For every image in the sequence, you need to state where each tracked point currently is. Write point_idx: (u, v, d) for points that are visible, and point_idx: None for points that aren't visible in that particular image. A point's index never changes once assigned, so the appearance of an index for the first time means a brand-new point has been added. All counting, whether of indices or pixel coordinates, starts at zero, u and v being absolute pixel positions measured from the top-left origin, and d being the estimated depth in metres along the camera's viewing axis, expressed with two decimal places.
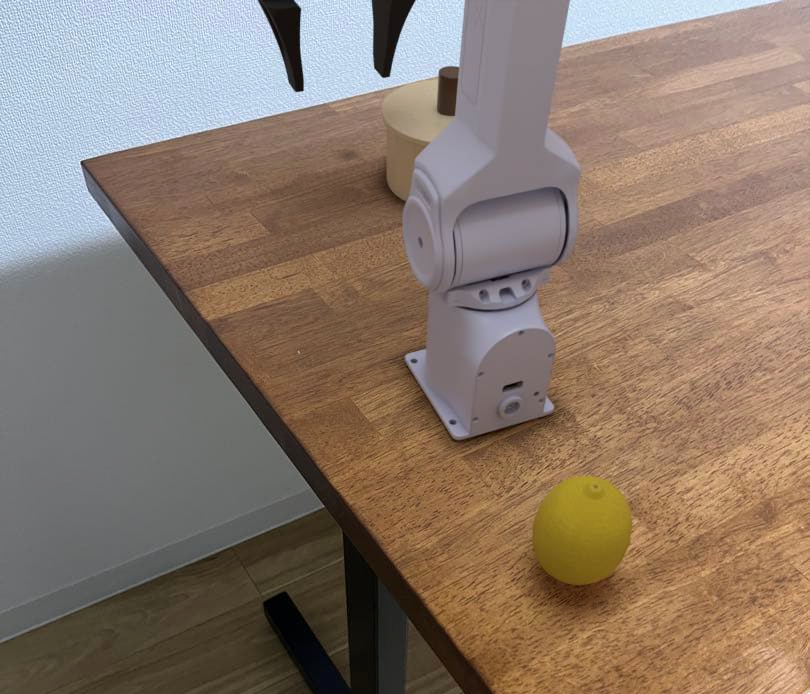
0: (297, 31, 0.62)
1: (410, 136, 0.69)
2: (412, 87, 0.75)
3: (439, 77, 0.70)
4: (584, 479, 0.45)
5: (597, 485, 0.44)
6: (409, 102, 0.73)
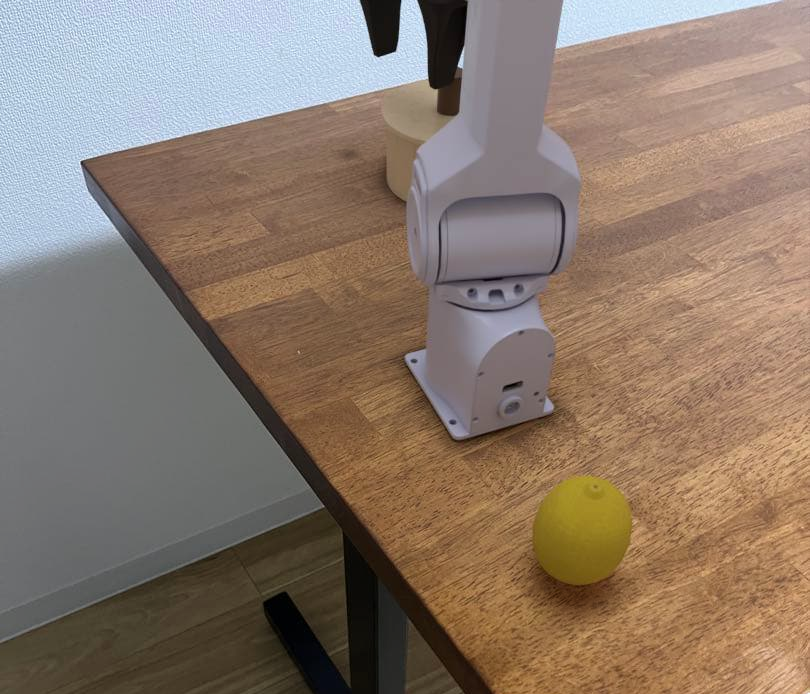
0: None
1: (410, 136, 0.69)
2: (412, 87, 0.75)
3: None
4: (584, 479, 0.45)
5: (597, 485, 0.44)
6: (409, 102, 0.73)
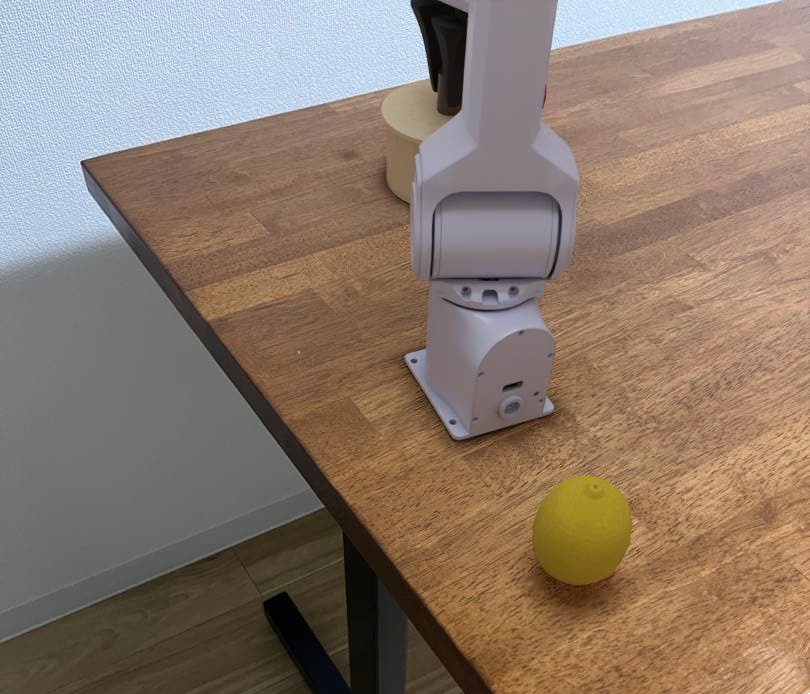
0: (426, 33, 0.68)
1: (410, 136, 0.70)
2: (412, 86, 0.75)
3: (439, 77, 0.70)
4: (584, 479, 0.45)
5: (597, 485, 0.44)
6: (409, 102, 0.73)
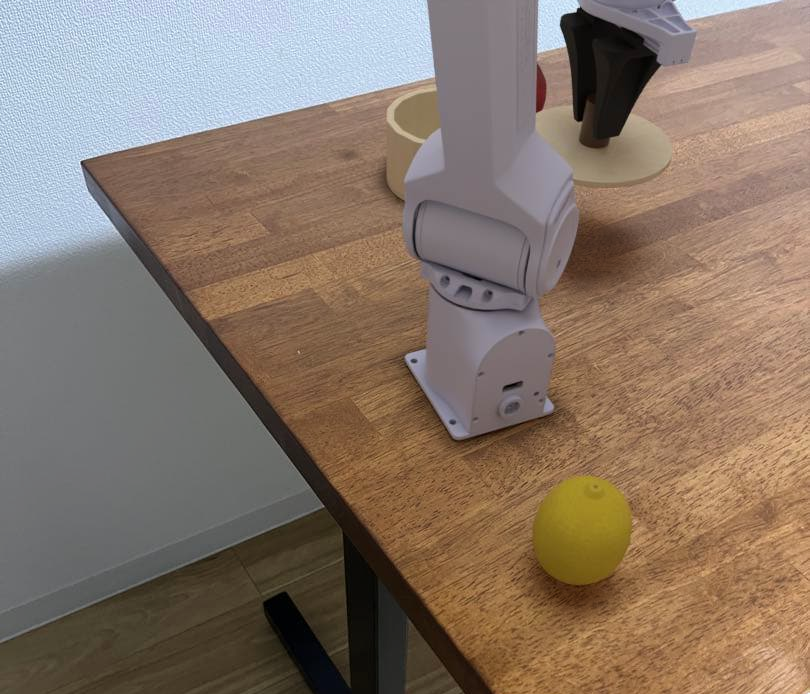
0: (576, 55, 0.60)
1: None
2: (545, 114, 0.67)
3: (588, 105, 0.61)
4: (584, 479, 0.45)
5: (597, 485, 0.44)
6: (546, 132, 0.65)
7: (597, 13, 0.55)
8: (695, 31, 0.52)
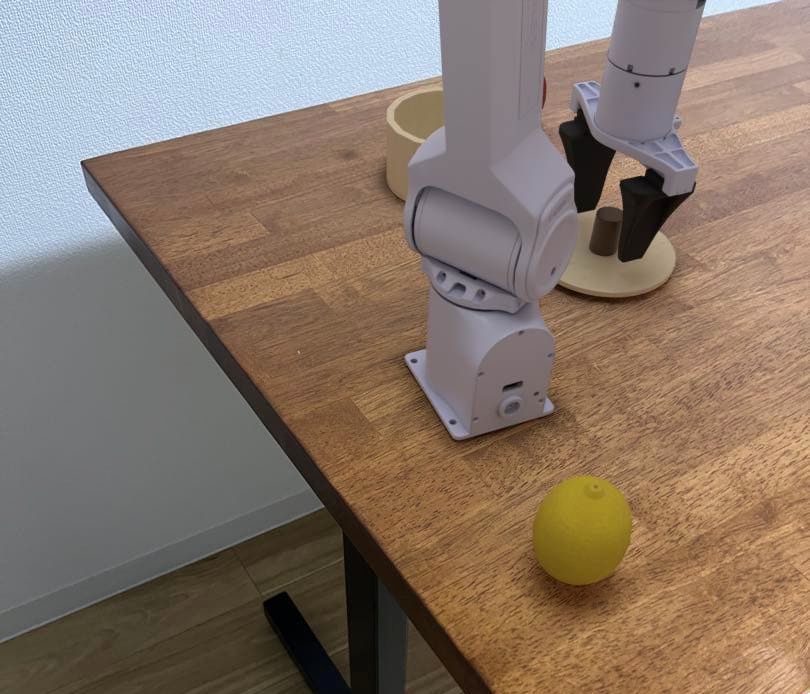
0: (573, 159, 0.66)
1: (568, 283, 0.66)
2: None
3: (597, 220, 0.67)
4: (584, 479, 0.45)
5: (597, 485, 0.44)
6: None
7: (608, 143, 0.60)
8: (697, 166, 0.57)
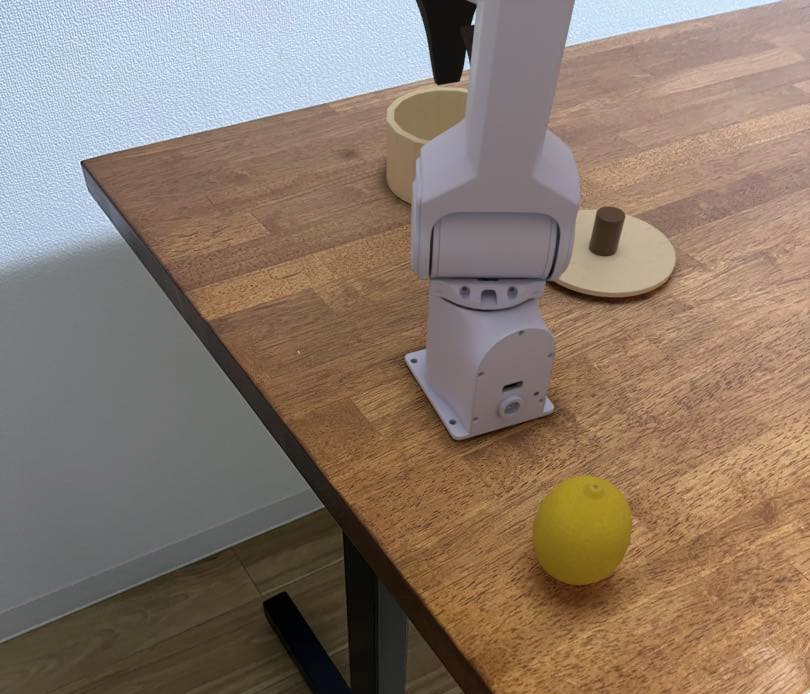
0: (428, 20, 0.63)
1: (568, 283, 0.66)
2: None
3: (597, 220, 0.67)
4: (584, 479, 0.45)
5: (597, 485, 0.44)
6: None
7: None
8: None
